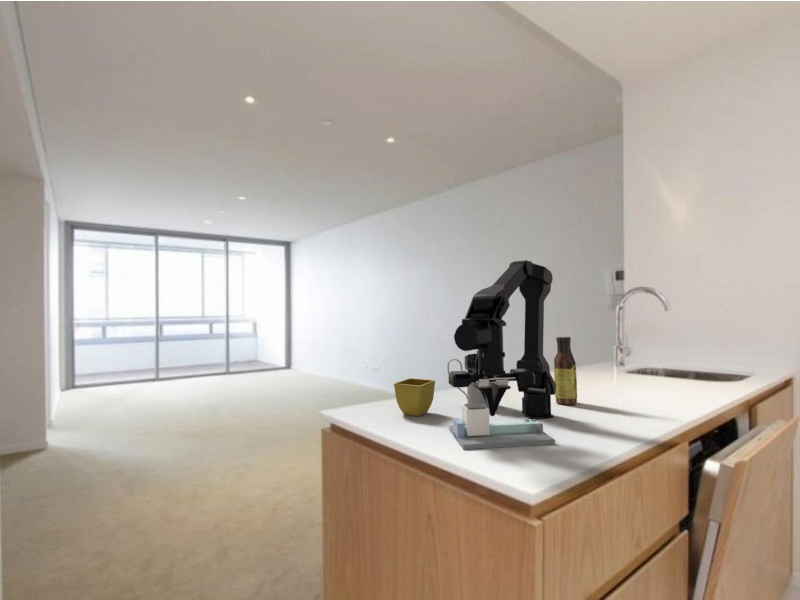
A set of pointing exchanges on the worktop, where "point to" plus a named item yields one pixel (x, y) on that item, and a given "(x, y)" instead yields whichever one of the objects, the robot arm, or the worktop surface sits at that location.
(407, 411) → the flower pot
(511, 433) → the comb board
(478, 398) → the glass holder
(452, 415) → the worktop surface
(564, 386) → the sauce bottle
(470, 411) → the sleeve
